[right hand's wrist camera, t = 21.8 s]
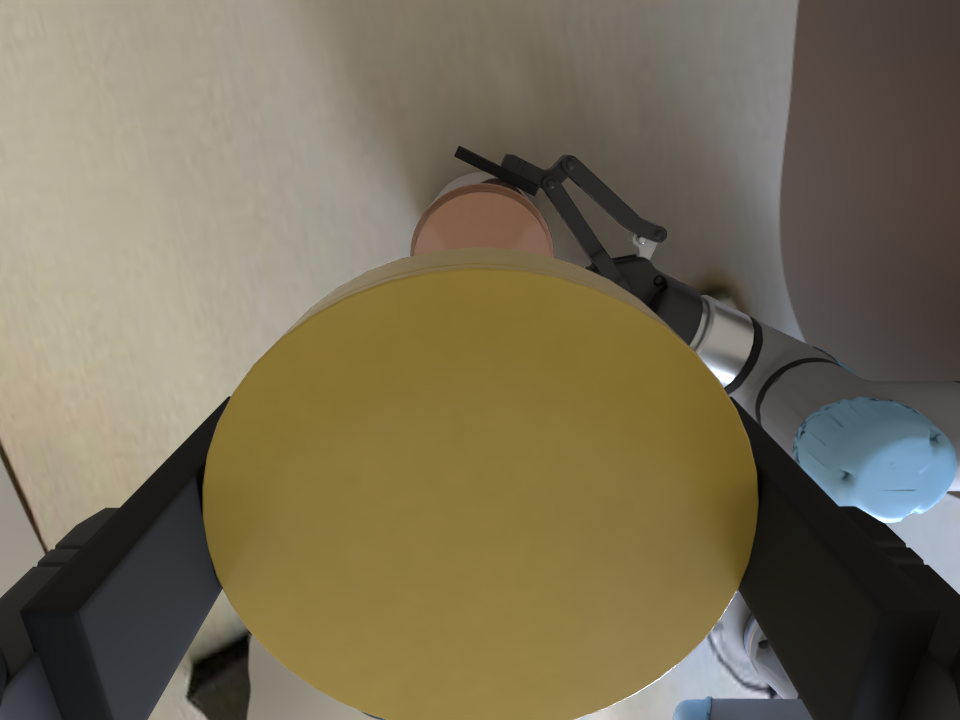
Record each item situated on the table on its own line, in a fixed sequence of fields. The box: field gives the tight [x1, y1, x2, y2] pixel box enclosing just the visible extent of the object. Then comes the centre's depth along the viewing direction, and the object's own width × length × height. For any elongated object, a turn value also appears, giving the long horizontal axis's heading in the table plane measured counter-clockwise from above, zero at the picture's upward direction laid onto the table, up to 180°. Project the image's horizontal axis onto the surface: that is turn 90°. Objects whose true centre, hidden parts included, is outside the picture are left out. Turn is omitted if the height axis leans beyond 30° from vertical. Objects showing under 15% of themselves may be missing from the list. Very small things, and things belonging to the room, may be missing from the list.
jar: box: [410, 172, 554, 258], centre depth 44 cm, size 9×9×16 cm
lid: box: [202, 247, 759, 720], centre depth 12 cm, size 10×10×2 cm
